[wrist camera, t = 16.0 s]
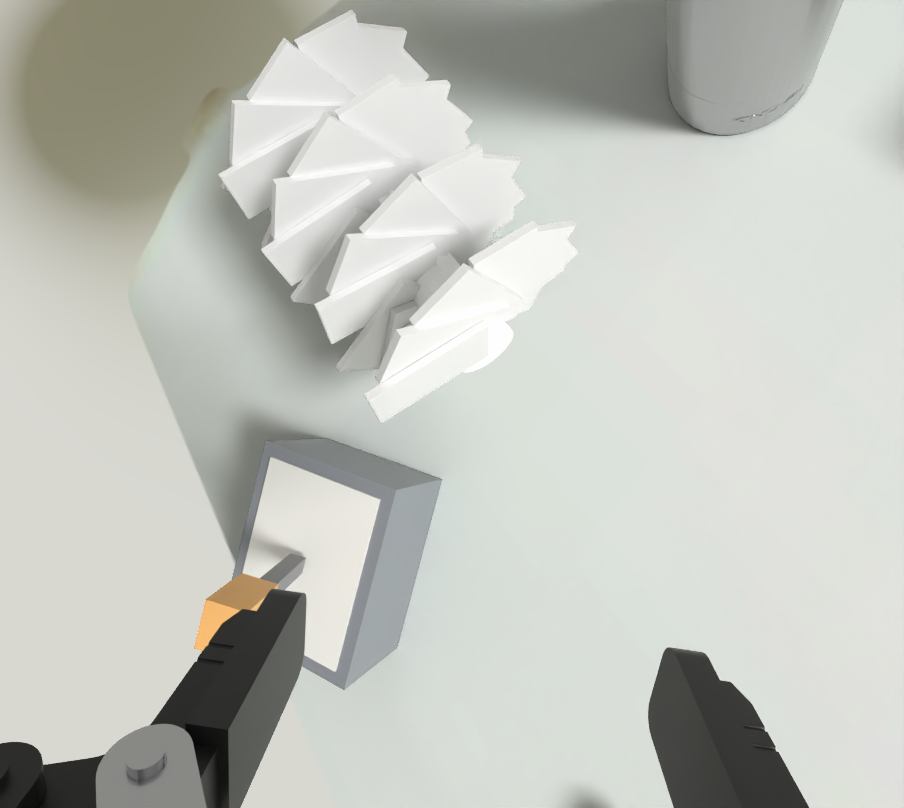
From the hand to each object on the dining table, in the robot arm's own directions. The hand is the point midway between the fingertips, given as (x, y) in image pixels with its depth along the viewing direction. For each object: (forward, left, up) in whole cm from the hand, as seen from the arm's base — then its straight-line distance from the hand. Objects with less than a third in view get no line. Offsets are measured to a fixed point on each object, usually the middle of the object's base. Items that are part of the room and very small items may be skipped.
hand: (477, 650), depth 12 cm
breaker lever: (-2, -22, -21) cm, 31 cm away
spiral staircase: (-23, -7, -30) cm, 39 cm away
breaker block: (-2, -22, -30) cm, 37 cm away
